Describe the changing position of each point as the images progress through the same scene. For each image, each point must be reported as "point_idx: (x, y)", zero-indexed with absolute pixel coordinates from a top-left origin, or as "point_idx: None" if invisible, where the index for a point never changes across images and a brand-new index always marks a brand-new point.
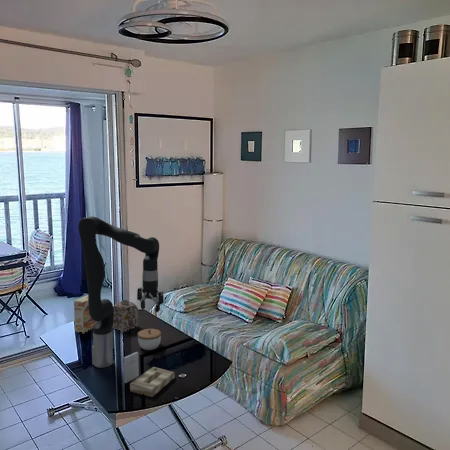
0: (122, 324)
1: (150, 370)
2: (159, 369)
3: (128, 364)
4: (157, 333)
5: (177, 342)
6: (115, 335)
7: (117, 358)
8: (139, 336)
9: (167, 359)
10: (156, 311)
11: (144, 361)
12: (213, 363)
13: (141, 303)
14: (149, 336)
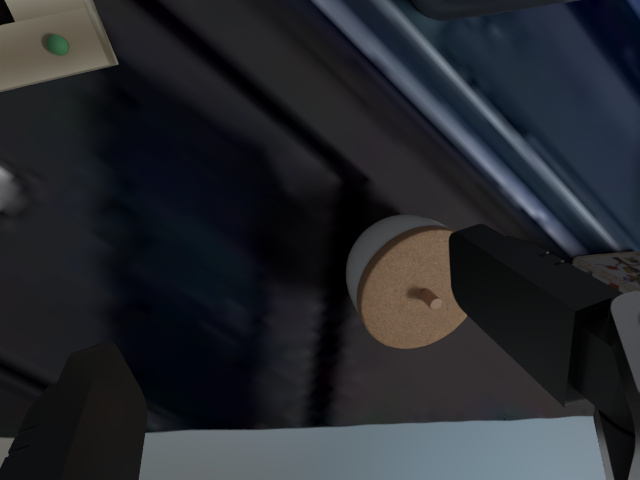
0: (614, 275)
1: (66, 6)
2: (36, 64)
3: None
4: (382, 320)
5: (332, 373)
6: (591, 225)
7: (433, 68)
8: (440, 228)
9: (225, 244)
10: (75, 358)
11: (297, 145)
12: (10, 380)
13: (570, 279)
14: (388, 265)
